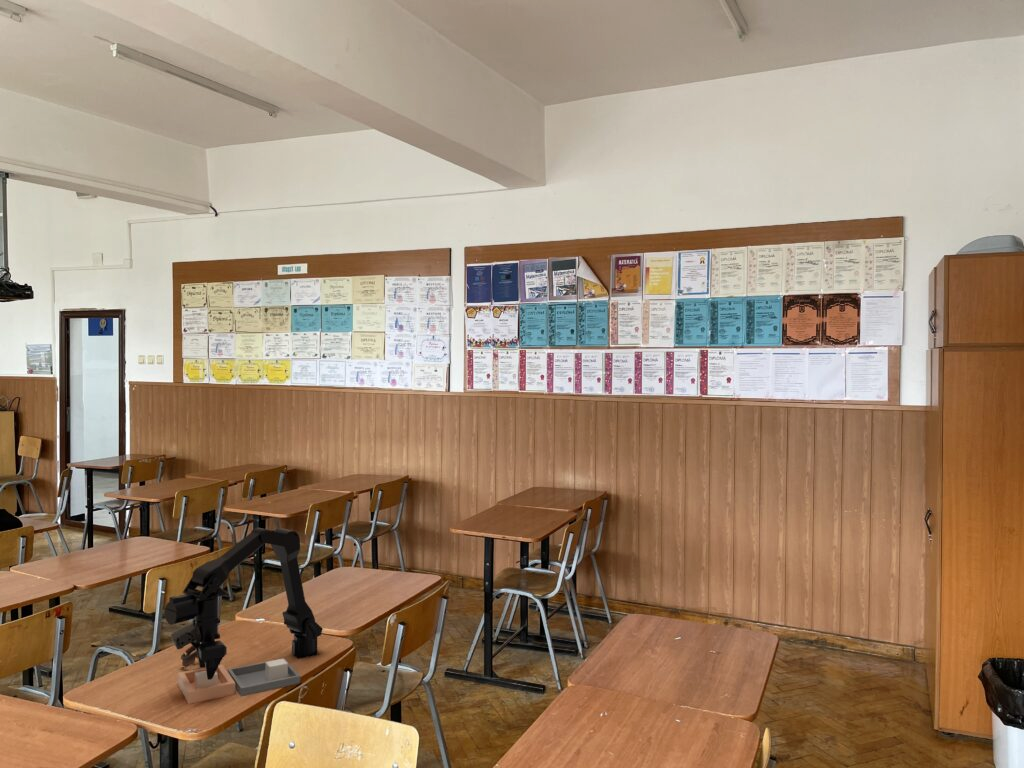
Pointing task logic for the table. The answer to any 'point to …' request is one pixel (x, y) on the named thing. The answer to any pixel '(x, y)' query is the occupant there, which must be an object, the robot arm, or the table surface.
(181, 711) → the table surface
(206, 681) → the cream rectangular block
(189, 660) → the brown curved piece
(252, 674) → the parts tray
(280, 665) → the off-white rectangular prism
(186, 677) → the terracotta dish
